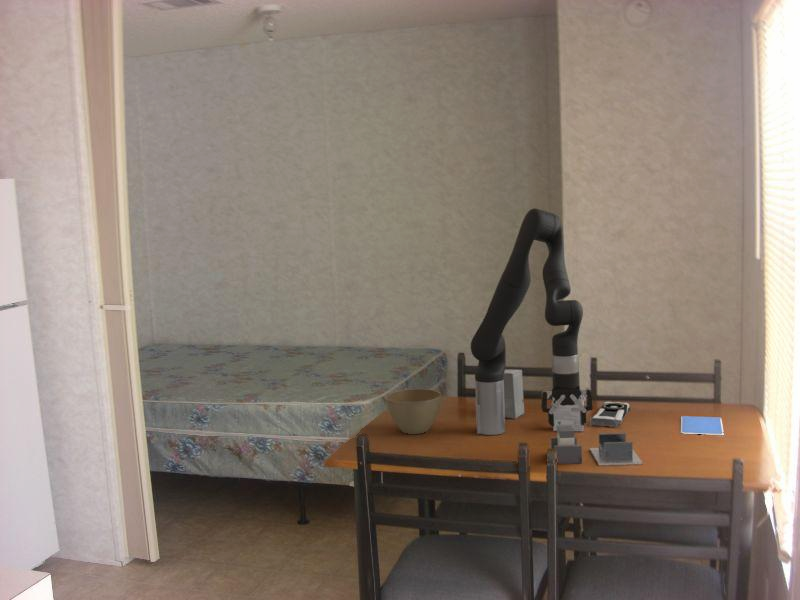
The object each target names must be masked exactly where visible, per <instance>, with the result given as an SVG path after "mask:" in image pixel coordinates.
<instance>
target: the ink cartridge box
mask: <svg viewBox="0 0 800 600" xmlns="http://www.w3.org/2000/svg"><path fill="white" fill-rule="evenodd" d="M551 396H552V395H551ZM551 398H552V402H553V401H554V397H553V396H552V397H551ZM584 399H585V397H584V395H583V394H581V396H580V397H579V398H578V400H579V401H580V403H581V404H582V405H583V406H585V401H584ZM552 402H551V403H552ZM555 402H556V401H555ZM580 411H581V409H580V408H579V407H578V406H577V405H576V404H573V405H565V406H562V405H559V406H558V408H556V409H555V411H554V412H553V414H554V427H552V432H557V425H571V426H572V428H573V429H574V432H584V430H585V429H584V428H585V424H584V425H581V423H580Z"/></svg>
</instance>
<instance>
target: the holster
mask: <svg viewBox="0 0 800 600" xmlns="http://www.w3.org/2000/svg"><path fill="white" fill-rule="evenodd" d="M574 444H575V445H561V446H558V442H557V436H550V450H551V449H556V451H557V458H558V464H557V465H560V464H562V465H565V464H568V465H569V464H582V463H583V460H582V459H583V455H582V454H583V453H582V452H583V451H582V449H583V448H582V445H581V444H578V437H577V436H575V435H574Z"/></svg>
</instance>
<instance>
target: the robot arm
mask: <svg viewBox="0 0 800 600" xmlns="http://www.w3.org/2000/svg"><path fill="white" fill-rule="evenodd" d="M521 222H522V223H521V225H520V228H519V229H518V233H517V237H516V239H515V243H514V245H513V248H512V251H511V253H510V256H509V259H508V261H507V263H506V265H505V268H504V270H503V272H502V274H501V275H500V279H499V281H498V283H497V286H496V288H495V291H494V293H493V296H492V297H491V300H490V302H489V305H488V308H487V311H486V314H485V316H484V318H483V319H482V321H481V323H480V325H479V326H478V328H477V330H476V332H475V334H474V336H473V337H472V339H471V342H470V352H471V354H472V356H473V357H474V358H475V359H476V360H478V364H477V367H476V369H475V372H474V385H475V386H474V387H475V421H476V422H475V423H476V434H477V435H486V436H495V435H496V436H497V435H501V434H504V433H505V432H506V417H505V403H504V372H505V370H506V360H507V359H506V358H507V357H506V356H507V354H506V352H507V351H506V350H507V349H506V346H507V345H506V340H505V338H504V335H503V332H504V330H505V328H506V326H507V324H508V323H509V322H510V320H511V319H512V317H513V316H514V315H515V313H516V312H517V310H518V309H519V308H520V306H521V305H522V303H523V301H524V299H525V298H526V295H527V293H528V291H529V288H530V286H531V281H532V280H531V279H532V277H531V269H530V262H529V259H530V258H529V256H530V251H531V249H532V245H533V244H534V242H535V241H538V242H540V243H545V245H546V246H547V250H548V255H547V258H546V260H545V262H544V263H543V267H542V280H543V285H544V289H545V309H544V319H545V321H546V322H547V324H548V325H549V326H553V327H560V326H567V329H565V331H562V332H559V333H556V334H554V335H553V336H552V338H551V340H552V341H551V344H552V348H551V349H552V357H551V358H552V360H551V361H552V362H551V373H552V390H545V389H542V390H541V406H540V407H541V408H540V409H541V411H542V412H543V413H547V418H548V419H547V423H548V425H550V426H551V427H552V428H553V427H554V414H553V412H554V411H555V409H556V408H558V406H559V405H562V406H565V405H573V404H576V405H577V406H578V407H579V408H580V409H581V411H580V423H581V425H584V426H585V424H586V423H587V412H589V411H593V410H594V409H593V408H594V407H593V395H592V390H591V389H590V388H589V387H586V388H585V389H581V387H580V386H581V385H580V363H579V362H580V361H579V353H578V352H579V351H578V348H579V347H578V339H579V338H578V337H579V332H580V328H581V327H580V326H581V325H582V324H581V323H582V320H583V317H584V316H583V315H584V310H583V305H582V304H581V302H580V301H578V300H577V299H569V300H563V299H565V298H567V297H569V295H570V294H571V285H570V280H569V277H568V272H567V268H566V261H565V260H566V259H565V244H564V242H565V241H564V228H563V223H562V220H561V217H560V216H559V215H557V214H555V213H553V212H549V211H546V210H542V209H540V208H531V209H529V210H528V212H526V214H525V216H524V218H523V219H522V221H521ZM581 394H583V397H584V398H585V399H586V401H585V402H586V405H584V406H583V405H582V404H581V403H580V401H579V400H578V398H579V397H580V396H581ZM550 396H553V397H554V401H553V402H551V404H550V405H549V406H548V400H549V399H550ZM555 401H556V402H555Z"/></svg>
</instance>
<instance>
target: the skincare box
mask: <svg viewBox="0 0 800 600" xmlns="http://www.w3.org/2000/svg"><path fill="white" fill-rule="evenodd" d="M523 386H524V384H523V369H507V368H505V372H504V403H505V419H507V418H508V419H514V420H516V419H518V418H519V417H520V416H522V415H524V414H525V403H524V402H525V401H524V387H523Z"/></svg>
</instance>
